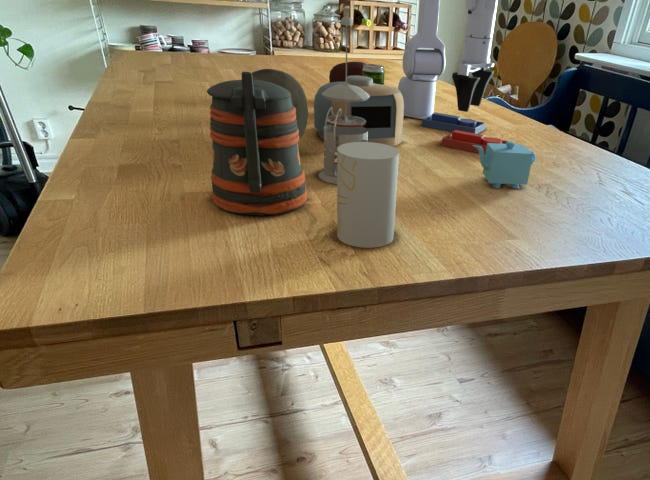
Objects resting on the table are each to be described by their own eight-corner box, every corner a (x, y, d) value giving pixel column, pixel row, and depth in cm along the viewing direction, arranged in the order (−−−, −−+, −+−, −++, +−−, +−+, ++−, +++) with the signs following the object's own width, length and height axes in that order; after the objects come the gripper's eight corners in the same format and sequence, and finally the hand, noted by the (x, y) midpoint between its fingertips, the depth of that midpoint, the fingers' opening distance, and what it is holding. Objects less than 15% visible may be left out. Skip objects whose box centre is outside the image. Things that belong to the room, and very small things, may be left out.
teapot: (470, 187, 101) (476, 144, 96) (464, 176, 106) (470, 135, 101) (533, 190, 102) (542, 148, 97) (525, 179, 107) (533, 139, 102)
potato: (334, 97, 159) (333, 56, 153) (379, 101, 158) (380, 61, 152) (324, 104, 150) (323, 61, 144) (372, 109, 149) (373, 66, 143)
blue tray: (421, 125, 137) (422, 119, 136) (433, 120, 143) (434, 113, 142) (474, 135, 133) (475, 128, 132) (484, 129, 139) (485, 122, 138)
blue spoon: (429, 123, 138) (430, 114, 137) (436, 120, 141) (436, 111, 140) (472, 131, 134) (473, 121, 133) (478, 128, 138) (479, 118, 136)
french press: (379, 173, 104) (386, 17, 89) (355, 191, 95) (359, 21, 80) (332, 164, 106) (331, 11, 91) (304, 181, 97) (298, 15, 82)
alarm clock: (331, 151, 114) (331, 86, 107) (304, 127, 128) (302, 69, 121) (414, 147, 121) (419, 86, 114) (380, 124, 135) (382, 69, 128)
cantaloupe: (223, 151, 108) (213, 66, 100) (281, 141, 117) (277, 62, 108) (266, 169, 101) (260, 79, 92) (325, 157, 110) (324, 73, 101)
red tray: (441, 145, 123) (442, 138, 122) (454, 138, 129) (454, 131, 128) (501, 157, 119) (502, 149, 118) (511, 149, 125) (512, 141, 124)
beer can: (386, 120, 140) (389, 67, 133) (369, 122, 137) (371, 68, 130) (373, 115, 143) (375, 63, 136) (356, 117, 140) (358, 64, 133)
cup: (337, 224, 82) (337, 140, 75) (391, 225, 83) (396, 143, 76) (336, 246, 76) (337, 157, 69) (395, 248, 77) (401, 160, 70)
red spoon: (449, 142, 124) (450, 132, 123) (456, 138, 127) (457, 128, 126) (497, 152, 120) (499, 141, 119) (503, 147, 124) (505, 137, 122)
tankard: (318, 227, 81) (315, 76, 69) (213, 232, 77) (191, 72, 65) (300, 184, 95) (296, 54, 84) (212, 186, 92) (194, 50, 80)
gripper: (485, 41, 106) (475, 116, 114) (507, 36, 117) (496, 105, 125) (452, 37, 109) (443, 111, 117) (476, 33, 119) (467, 100, 127)
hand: (469, 108), depth 121 cm, fingers open, 7 cm apart
